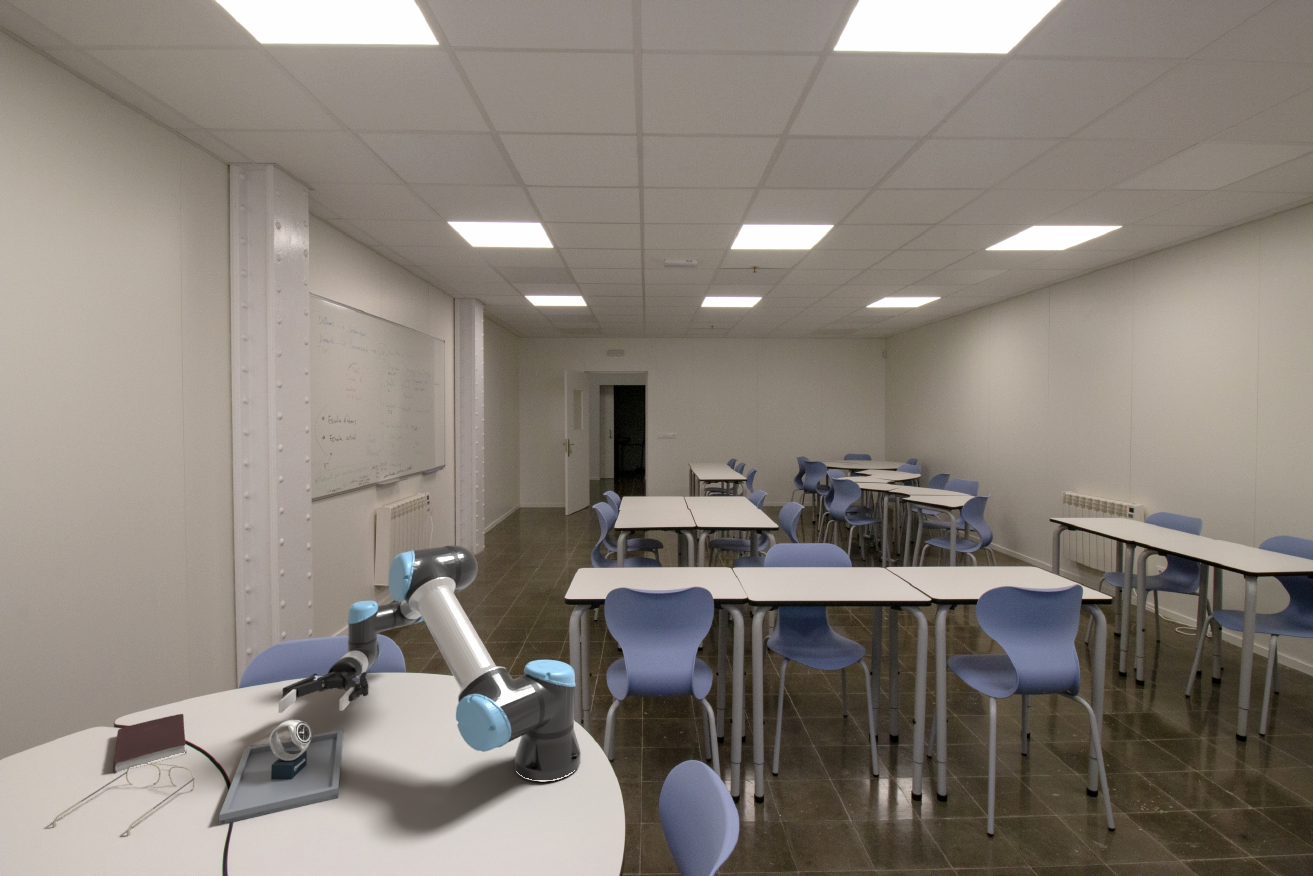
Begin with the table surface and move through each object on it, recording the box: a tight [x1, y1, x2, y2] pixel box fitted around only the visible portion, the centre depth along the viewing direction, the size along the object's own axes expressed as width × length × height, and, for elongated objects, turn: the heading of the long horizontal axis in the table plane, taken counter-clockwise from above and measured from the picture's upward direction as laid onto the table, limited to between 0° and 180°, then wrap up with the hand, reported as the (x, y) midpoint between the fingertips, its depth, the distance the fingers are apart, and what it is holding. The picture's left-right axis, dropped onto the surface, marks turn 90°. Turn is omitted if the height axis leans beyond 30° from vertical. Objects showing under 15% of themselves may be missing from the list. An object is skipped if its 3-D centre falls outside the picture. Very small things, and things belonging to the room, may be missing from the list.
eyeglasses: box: [52, 762, 195, 837], centre depth 114 cm, size 16×15×5 cm
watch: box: [268, 719, 313, 779], centre depth 126 cm, size 6×8×11 cm
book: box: [112, 713, 187, 774], centre depth 136 cm, size 12×19×3 cm, turn 41°
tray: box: [218, 729, 344, 826], centre depth 126 cm, size 26×20×2 cm
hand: (310, 706), depth 135 cm, fingers open, 13 cm apart
